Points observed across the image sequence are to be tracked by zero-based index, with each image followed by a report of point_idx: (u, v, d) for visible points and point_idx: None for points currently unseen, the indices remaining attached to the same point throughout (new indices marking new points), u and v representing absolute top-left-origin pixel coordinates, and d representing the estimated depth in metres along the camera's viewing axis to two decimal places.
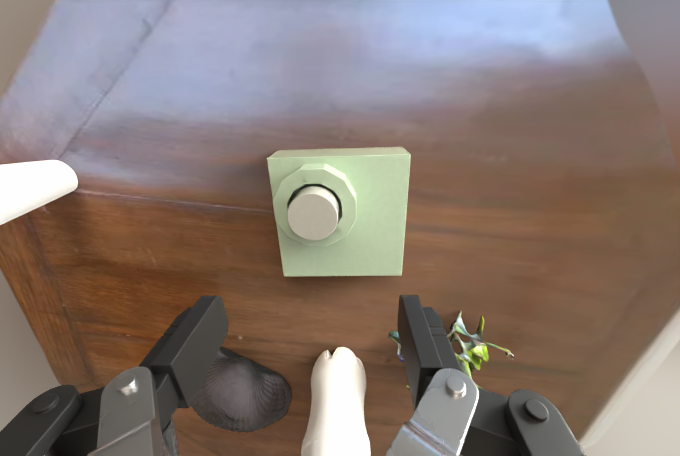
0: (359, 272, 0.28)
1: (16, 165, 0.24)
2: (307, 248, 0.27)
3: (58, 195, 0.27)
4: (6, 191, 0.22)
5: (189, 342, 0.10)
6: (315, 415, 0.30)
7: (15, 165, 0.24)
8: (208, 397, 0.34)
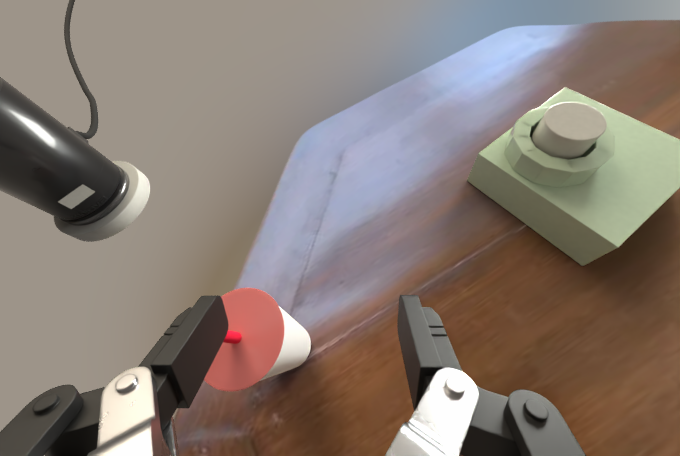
0: (675, 182, 0.21)
1: None
2: (595, 196, 0.21)
3: (305, 346, 0.21)
4: (282, 309, 0.18)
5: (189, 342, 0.10)
6: None
7: None
8: None
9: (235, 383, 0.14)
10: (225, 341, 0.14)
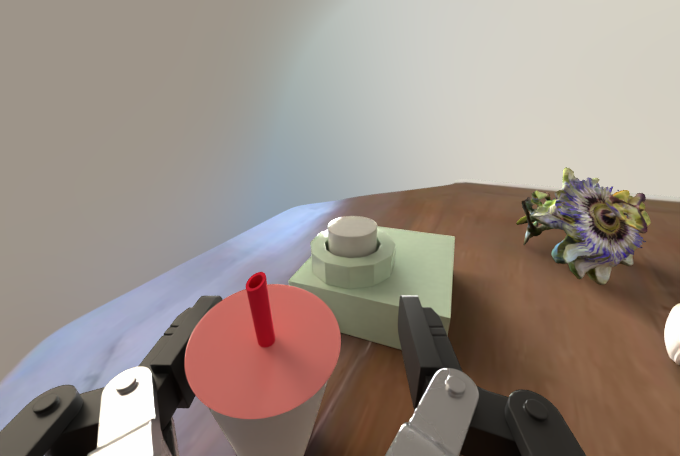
0: (448, 256, 0.24)
1: None
2: (405, 283, 0.21)
3: None
4: None
5: None
6: None
7: None
8: None
9: (301, 390, 0.09)
10: (269, 324, 0.09)
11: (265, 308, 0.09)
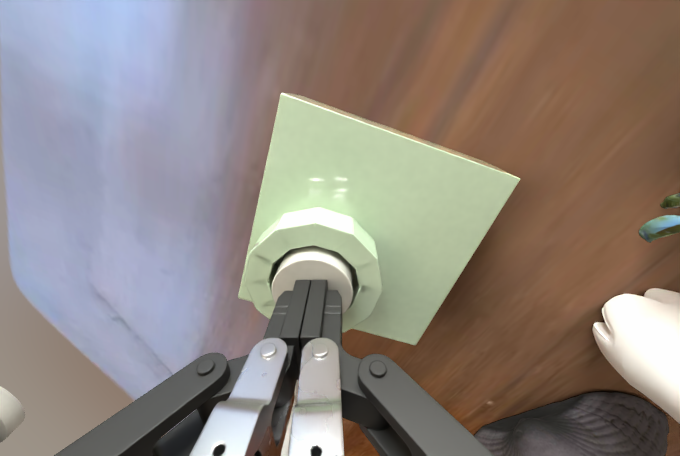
0: (468, 248, 0.15)
1: None
2: (385, 302, 0.17)
3: None
4: None
5: (303, 319, 0.11)
6: None
7: None
8: None
9: None
10: None
11: None
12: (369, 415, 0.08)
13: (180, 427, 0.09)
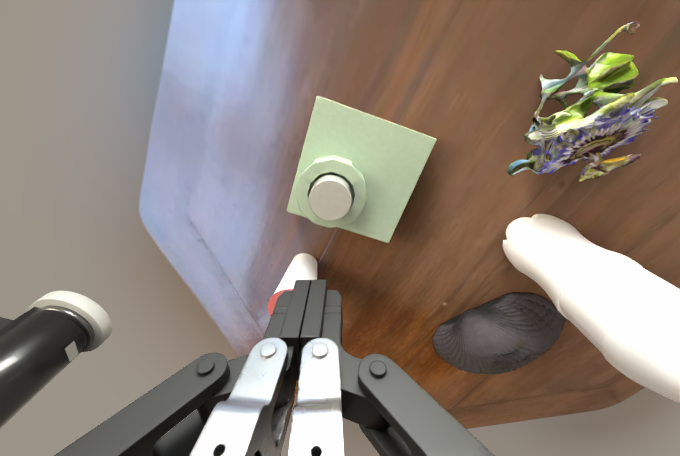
0: (414, 178, 0.28)
1: (286, 272, 0.33)
2: (370, 213, 0.30)
3: (315, 267, 0.35)
4: (297, 279, 0.30)
5: (303, 319, 0.11)
6: (544, 286, 0.27)
7: (286, 272, 0.33)
8: (476, 356, 0.36)
9: None
10: None
11: None
12: (369, 415, 0.08)
13: (180, 427, 0.09)
